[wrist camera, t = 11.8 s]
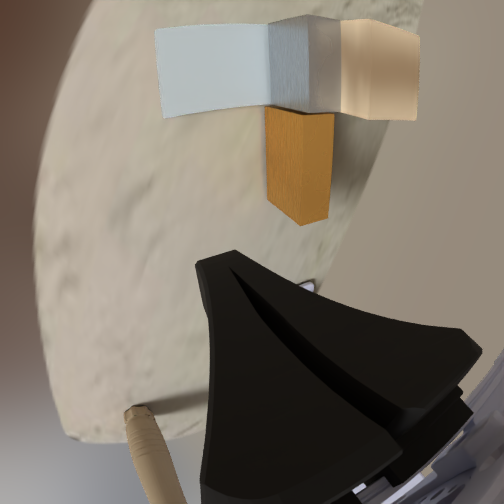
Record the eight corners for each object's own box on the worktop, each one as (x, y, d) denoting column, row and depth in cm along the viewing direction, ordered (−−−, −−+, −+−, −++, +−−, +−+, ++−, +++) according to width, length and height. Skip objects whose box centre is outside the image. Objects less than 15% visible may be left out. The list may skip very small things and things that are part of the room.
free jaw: (292, 193, 20) (333, 221, 17) (267, 199, 20) (305, 230, 16) (290, 27, 14) (340, 20, 10) (261, 25, 13) (307, 14, 10)
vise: (357, 100, 19) (408, 113, 15) (162, 117, 14) (181, 128, 11) (358, 38, 16) (411, 40, 12) (154, 31, 11) (171, 10, 8)
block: (345, 101, 18) (416, 120, 13) (297, 102, 16) (368, 119, 12) (345, 34, 15) (419, 36, 10) (295, 27, 13) (370, 18, 9)
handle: (162, 395, 27) (219, 528, 15) (154, 423, 29) (201, 536, 18) (117, 396, 24) (164, 540, 13) (114, 425, 26) (155, 545, 15)
